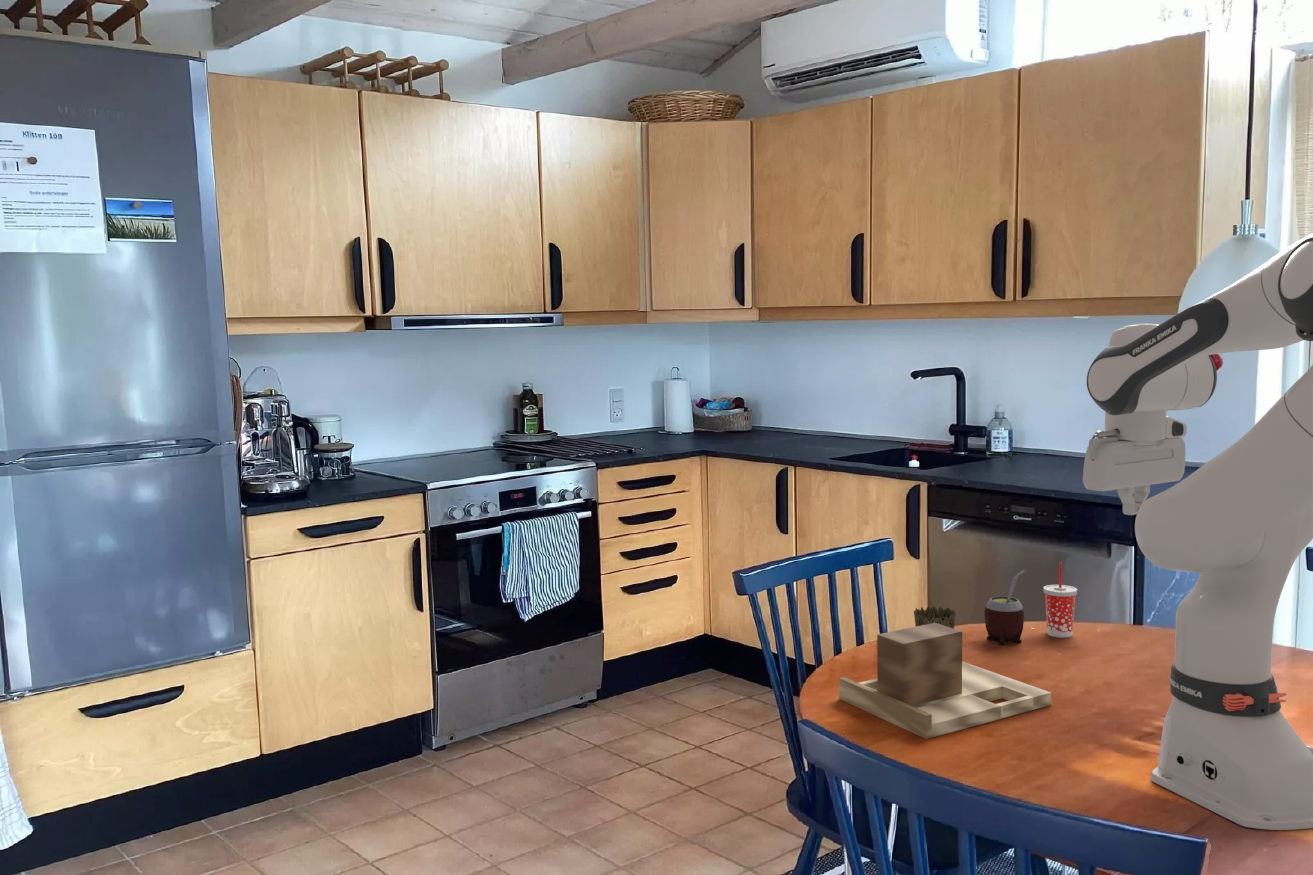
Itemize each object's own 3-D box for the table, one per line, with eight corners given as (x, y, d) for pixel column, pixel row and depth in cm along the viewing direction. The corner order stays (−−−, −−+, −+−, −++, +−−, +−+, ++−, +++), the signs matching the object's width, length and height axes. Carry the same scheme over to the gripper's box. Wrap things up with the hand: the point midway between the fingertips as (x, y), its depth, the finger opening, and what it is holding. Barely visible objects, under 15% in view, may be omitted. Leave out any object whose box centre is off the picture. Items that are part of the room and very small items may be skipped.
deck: (957, 671, 184) (957, 651, 184) (1051, 705, 167) (1051, 683, 167) (839, 699, 172) (839, 678, 172) (926, 739, 154) (926, 715, 154)
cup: (912, 647, 199) (912, 605, 198) (952, 648, 198) (952, 605, 197) (916, 659, 191) (916, 616, 190) (958, 660, 190) (958, 616, 189)
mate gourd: (988, 634, 206) (989, 557, 204) (1031, 638, 202) (1032, 561, 201) (980, 644, 199) (981, 565, 198) (1024, 649, 196) (1025, 569, 194)
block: (934, 682, 173) (934, 622, 172) (961, 693, 167) (962, 631, 166) (877, 696, 167) (877, 634, 166) (903, 708, 162) (903, 643, 161)
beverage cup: (1072, 640, 200) (1073, 567, 199) (1039, 636, 204) (1040, 564, 202) (1079, 632, 205) (1080, 561, 204) (1046, 628, 209) (1047, 558, 207)
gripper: (1107, 433, 160) (1106, 523, 162) (1193, 424, 170) (1191, 510, 171) (1073, 430, 166) (1072, 517, 167) (1158, 422, 175) (1156, 505, 177)
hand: (1133, 513), depth 169 cm, fingers closed
